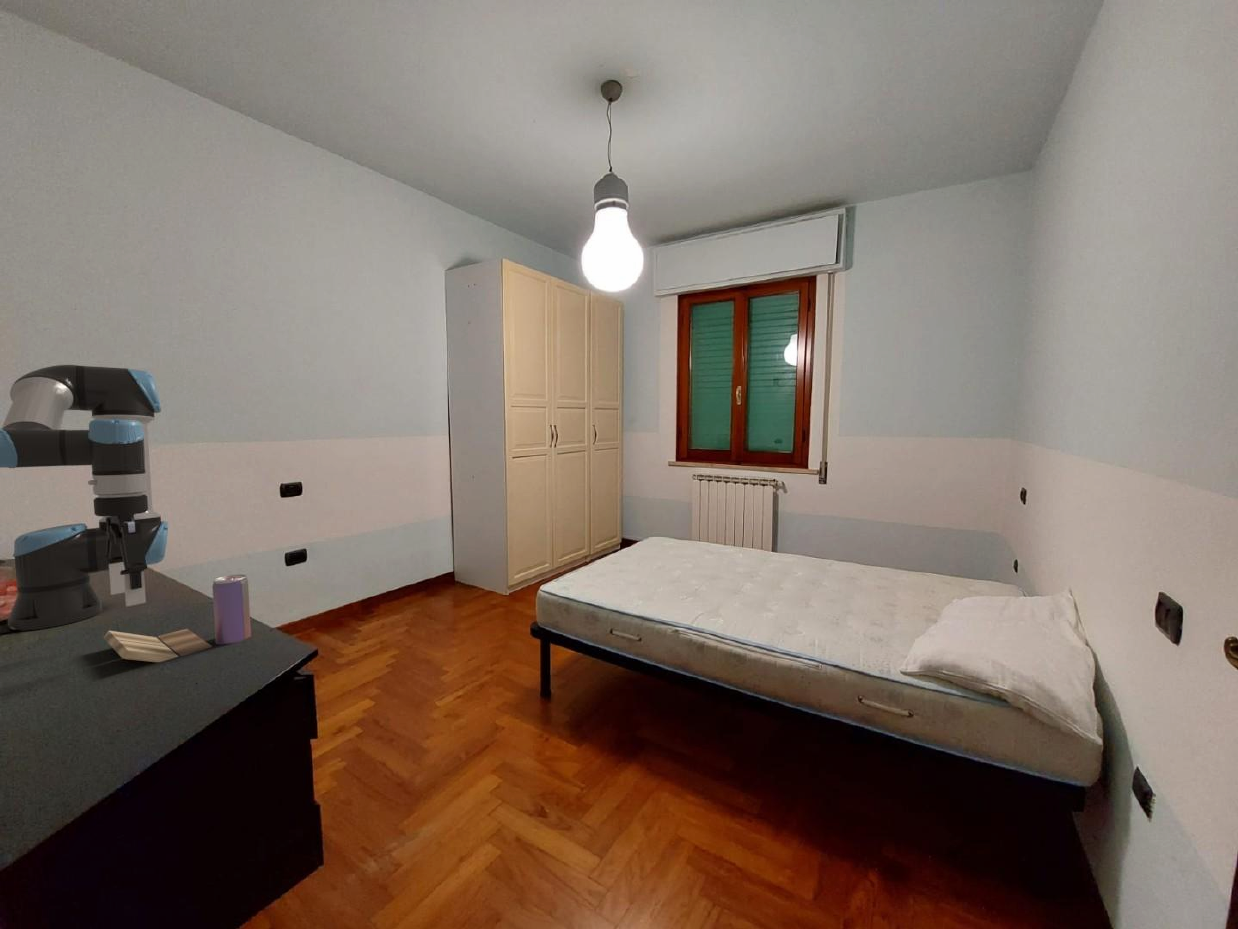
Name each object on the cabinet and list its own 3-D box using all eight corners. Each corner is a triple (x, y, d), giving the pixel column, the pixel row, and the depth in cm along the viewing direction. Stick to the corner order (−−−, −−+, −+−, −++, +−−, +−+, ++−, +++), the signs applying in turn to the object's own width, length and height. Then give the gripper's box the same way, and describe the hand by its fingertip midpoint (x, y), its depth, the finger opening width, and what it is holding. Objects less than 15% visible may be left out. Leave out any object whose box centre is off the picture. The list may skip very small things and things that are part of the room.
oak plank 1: (103, 637, 96) (108, 630, 96) (151, 644, 102) (155, 637, 102) (112, 647, 91) (117, 639, 92) (161, 653, 97) (166, 646, 98)
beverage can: (231, 652, 98) (227, 583, 97) (208, 649, 99) (204, 581, 98) (258, 640, 104) (254, 574, 103) (236, 638, 105) (233, 573, 104)
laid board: (157, 643, 103) (157, 636, 103) (187, 634, 107) (187, 628, 107) (181, 663, 93) (180, 656, 93) (213, 653, 97) (212, 646, 97)
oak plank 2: (112, 648, 91) (117, 640, 92) (162, 654, 97) (166, 646, 98) (122, 658, 87) (127, 650, 87) (173, 664, 93) (178, 656, 93)
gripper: (81, 493, 98) (88, 592, 99) (107, 501, 85) (115, 616, 86) (131, 489, 104) (137, 583, 105) (163, 496, 91) (170, 604, 92)
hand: (127, 598), depth 96 cm, fingers open, 12 cm apart
